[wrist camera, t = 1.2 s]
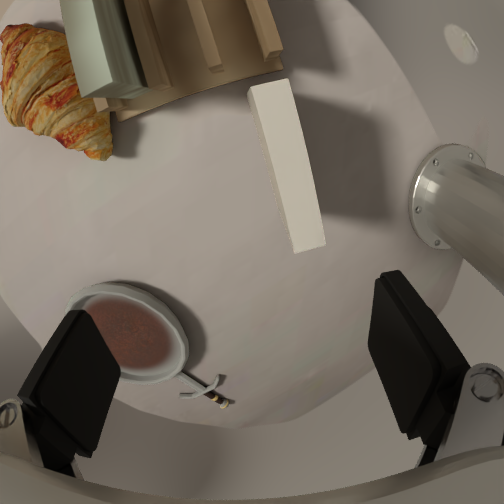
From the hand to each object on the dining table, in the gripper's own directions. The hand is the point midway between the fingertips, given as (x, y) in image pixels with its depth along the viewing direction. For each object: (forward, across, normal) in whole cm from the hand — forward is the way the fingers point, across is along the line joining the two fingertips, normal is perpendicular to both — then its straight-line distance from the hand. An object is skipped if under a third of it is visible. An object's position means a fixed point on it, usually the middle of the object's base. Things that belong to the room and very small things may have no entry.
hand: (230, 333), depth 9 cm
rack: (+20, +3, -16) cm, 25 cm away
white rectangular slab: (+20, -4, -2) cm, 21 cm away
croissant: (+20, +16, -14) cm, 29 cm away
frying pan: (+20, +15, +21) cm, 33 cm away
